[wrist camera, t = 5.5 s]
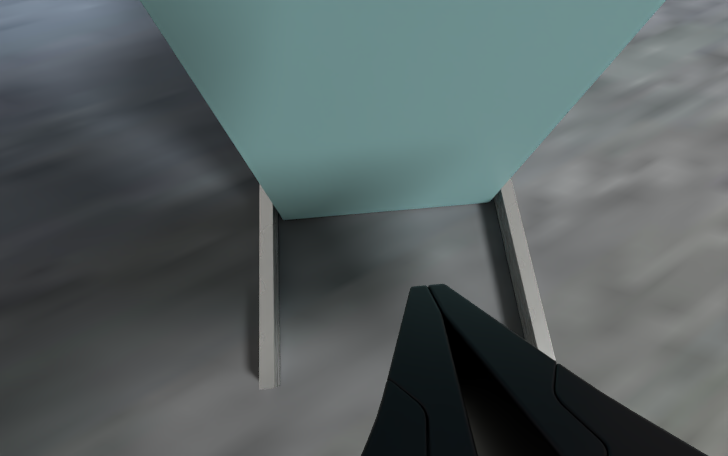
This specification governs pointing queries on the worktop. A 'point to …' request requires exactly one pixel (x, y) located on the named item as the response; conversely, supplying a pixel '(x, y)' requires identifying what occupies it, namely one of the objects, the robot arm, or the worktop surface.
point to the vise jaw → (392, 90)
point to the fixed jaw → (516, 258)
